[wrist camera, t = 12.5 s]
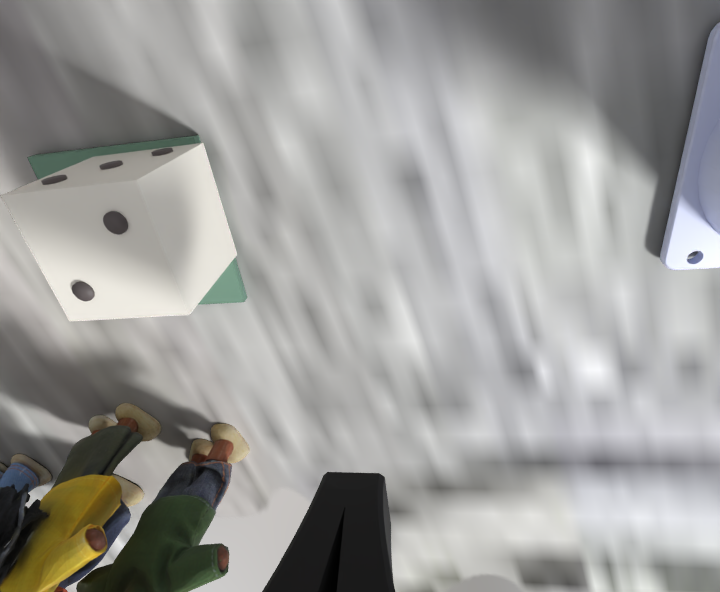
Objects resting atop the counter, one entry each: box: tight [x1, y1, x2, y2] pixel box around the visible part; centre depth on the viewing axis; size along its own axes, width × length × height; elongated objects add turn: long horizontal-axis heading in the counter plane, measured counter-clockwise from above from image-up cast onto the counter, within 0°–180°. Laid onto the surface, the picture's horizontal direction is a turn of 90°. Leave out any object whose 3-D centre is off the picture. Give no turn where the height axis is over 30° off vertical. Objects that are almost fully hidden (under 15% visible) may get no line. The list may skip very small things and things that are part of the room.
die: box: [0, 143, 237, 321], centre depth 16 cm, size 5×5×5 cm
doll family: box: [0, 403, 250, 592], centre depth 22 cm, size 23×9×13 cm, turn 125°
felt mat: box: [27, 135, 247, 304], centre depth 19 cm, size 7×7×1 cm
